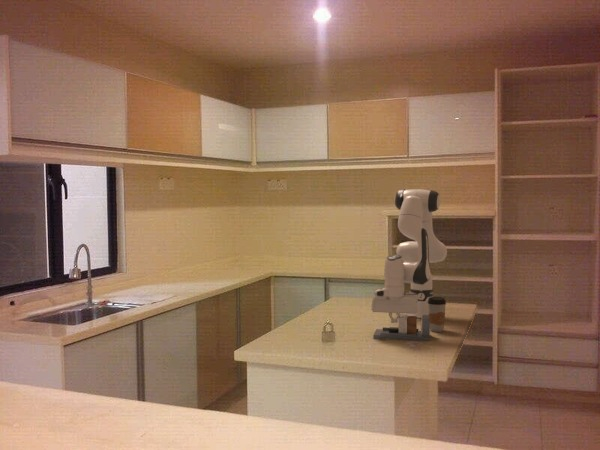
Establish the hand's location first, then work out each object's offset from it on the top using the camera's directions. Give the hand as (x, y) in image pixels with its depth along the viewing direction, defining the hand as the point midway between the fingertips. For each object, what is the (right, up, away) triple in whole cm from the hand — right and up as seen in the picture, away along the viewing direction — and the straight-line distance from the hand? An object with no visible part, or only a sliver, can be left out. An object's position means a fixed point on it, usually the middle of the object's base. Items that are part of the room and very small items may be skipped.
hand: (394, 322), depth 259 cm
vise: (+3, -6, -1) cm, 7 cm away
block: (+7, -5, -2) cm, 9 cm away
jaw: (+2, -4, 0) cm, 5 cm away
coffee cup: (+21, -6, +11) cm, 25 cm away
